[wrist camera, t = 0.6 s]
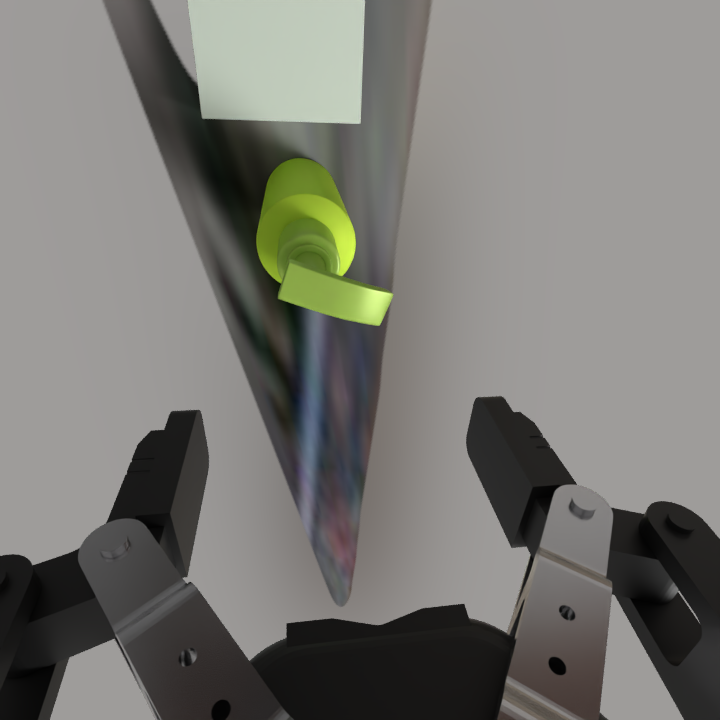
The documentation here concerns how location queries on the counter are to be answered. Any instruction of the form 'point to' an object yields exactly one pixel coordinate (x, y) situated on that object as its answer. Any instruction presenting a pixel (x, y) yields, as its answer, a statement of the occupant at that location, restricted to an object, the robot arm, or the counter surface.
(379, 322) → the soap dispenser
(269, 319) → the counter surface
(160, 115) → the counter surface
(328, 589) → the counter surface
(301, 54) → the plate
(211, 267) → the counter surface
